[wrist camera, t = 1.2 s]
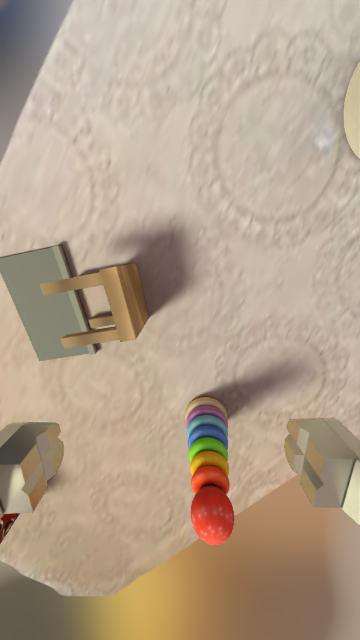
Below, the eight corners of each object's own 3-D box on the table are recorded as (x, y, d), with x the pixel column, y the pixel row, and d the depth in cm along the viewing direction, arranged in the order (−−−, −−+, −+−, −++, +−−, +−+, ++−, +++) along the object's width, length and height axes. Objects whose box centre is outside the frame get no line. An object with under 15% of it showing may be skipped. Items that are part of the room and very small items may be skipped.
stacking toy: (208, 387, 38) (226, 506, 20) (234, 414, 40) (271, 546, 22) (176, 409, 40) (166, 535, 22) (202, 434, 41) (212, 571, 24)
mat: (62, 245, 31) (58, 245, 30) (97, 351, 36) (95, 353, 36) (-3, 259, 32) (-9, 259, 31) (40, 359, 37) (37, 362, 37)
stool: (135, 262, 31) (115, 266, 23) (148, 317, 34) (135, 339, 26) (77, 274, 32) (38, 281, 24) (95, 326, 35) (65, 350, 26)
